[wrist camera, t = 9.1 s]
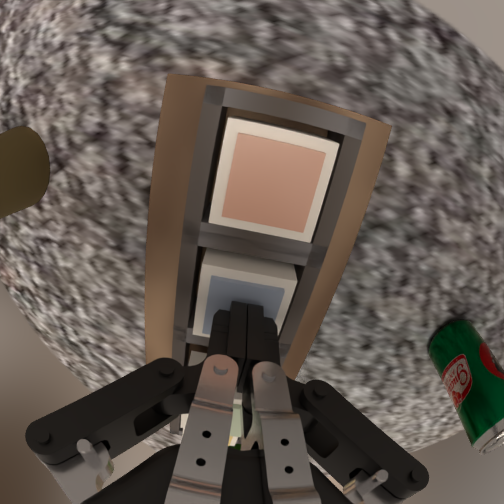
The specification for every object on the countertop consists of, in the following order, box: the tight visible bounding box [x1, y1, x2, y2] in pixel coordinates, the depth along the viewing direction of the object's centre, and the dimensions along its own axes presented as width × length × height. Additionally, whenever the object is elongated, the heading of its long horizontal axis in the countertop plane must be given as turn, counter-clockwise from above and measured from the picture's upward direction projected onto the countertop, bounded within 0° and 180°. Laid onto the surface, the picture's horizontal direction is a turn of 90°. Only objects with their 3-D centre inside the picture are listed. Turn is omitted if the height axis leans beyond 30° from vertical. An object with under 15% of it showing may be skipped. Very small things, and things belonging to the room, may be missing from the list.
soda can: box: [429, 320, 504, 455], centre depth 18 cm, size 5×5×12 cm
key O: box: [209, 115, 339, 243], centre depth 13 cm, size 4×4×3 cm
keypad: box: [145, 74, 392, 444], centre depth 19 cm, size 12×27×4 cm, turn 168°
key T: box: [193, 247, 297, 338], centre depth 16 cm, size 4×4×3 cm
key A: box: [180, 351, 242, 437], centre depth 17 cm, size 4×4×3 cm
